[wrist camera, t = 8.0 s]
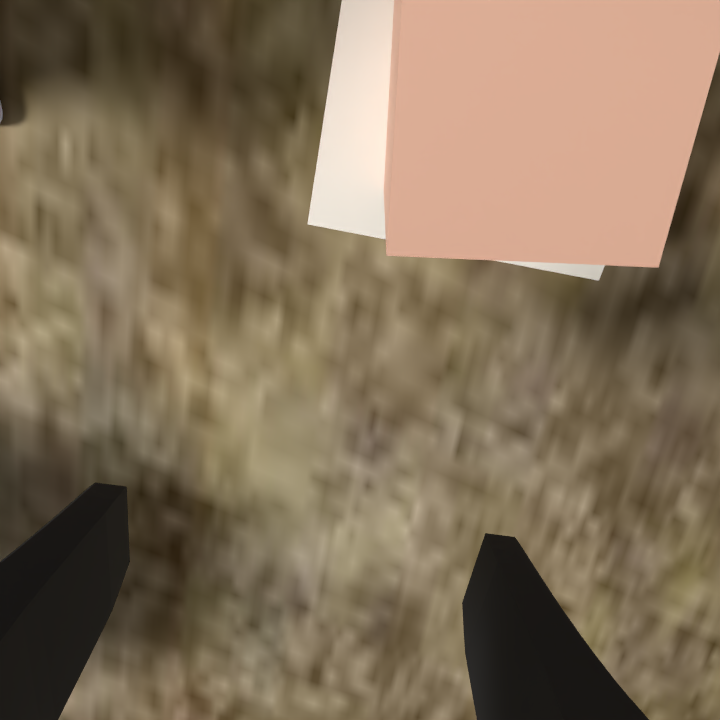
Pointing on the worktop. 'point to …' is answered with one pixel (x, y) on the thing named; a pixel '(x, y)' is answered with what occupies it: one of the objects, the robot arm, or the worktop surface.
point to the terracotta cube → (543, 126)
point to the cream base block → (367, 131)
